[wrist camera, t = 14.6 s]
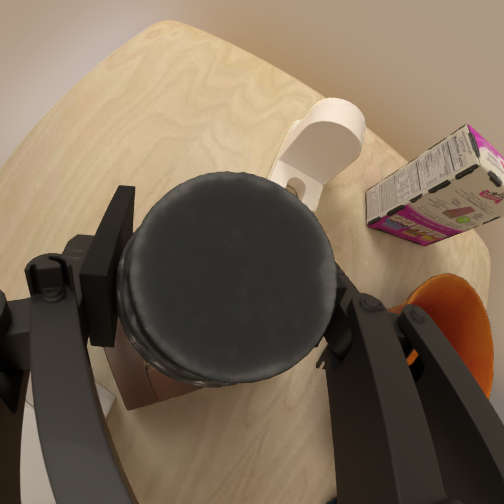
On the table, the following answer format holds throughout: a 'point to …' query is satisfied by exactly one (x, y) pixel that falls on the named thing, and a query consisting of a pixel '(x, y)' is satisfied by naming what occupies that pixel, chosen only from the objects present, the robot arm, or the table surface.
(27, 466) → the ink box
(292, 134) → the cable organizer
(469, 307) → the bowl
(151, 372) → the dock
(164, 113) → the table surface
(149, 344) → the pill bottle
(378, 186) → the candy bar box
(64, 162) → the table surface
